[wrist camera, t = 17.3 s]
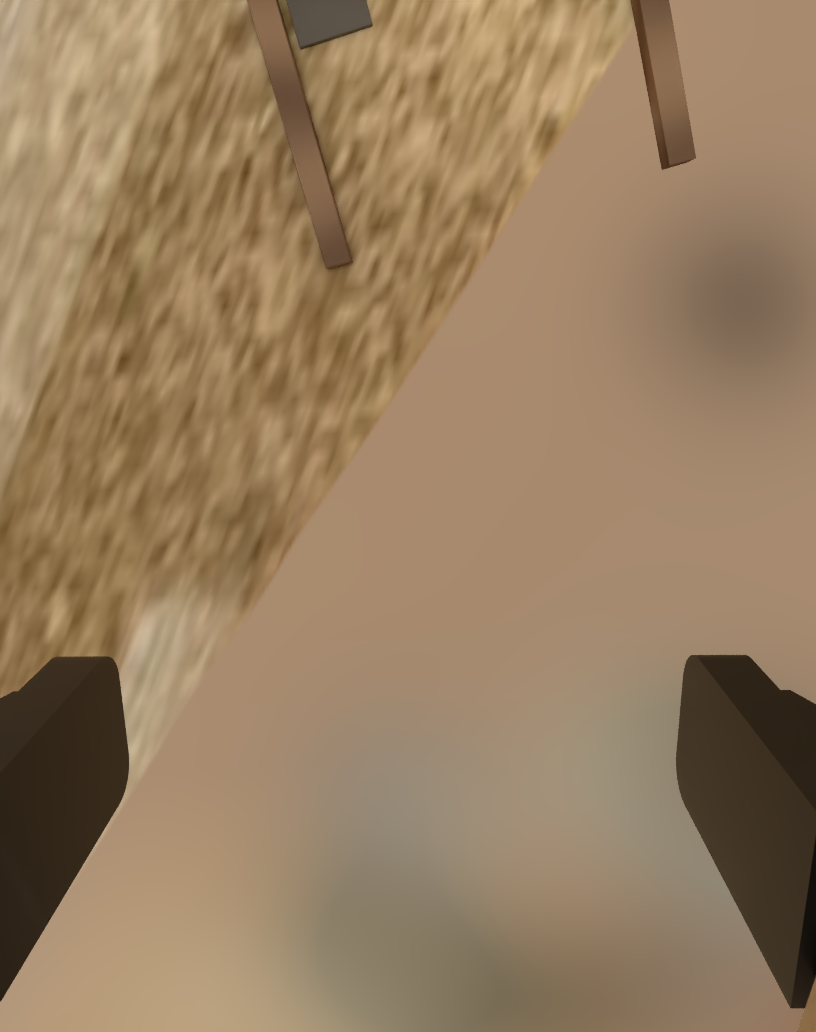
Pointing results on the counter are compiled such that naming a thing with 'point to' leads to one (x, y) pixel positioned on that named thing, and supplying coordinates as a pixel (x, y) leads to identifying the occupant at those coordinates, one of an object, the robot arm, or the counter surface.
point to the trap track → (343, 10)
